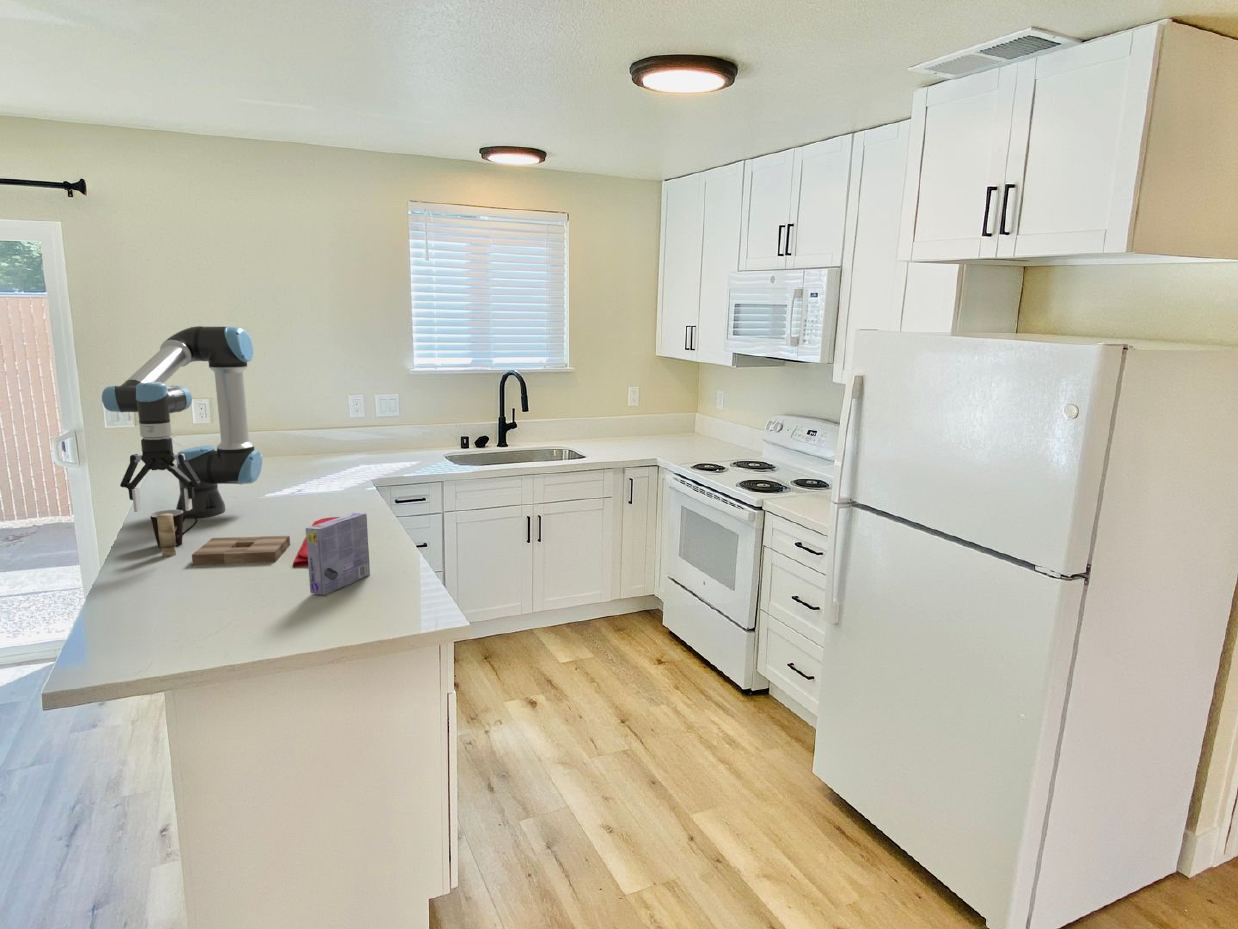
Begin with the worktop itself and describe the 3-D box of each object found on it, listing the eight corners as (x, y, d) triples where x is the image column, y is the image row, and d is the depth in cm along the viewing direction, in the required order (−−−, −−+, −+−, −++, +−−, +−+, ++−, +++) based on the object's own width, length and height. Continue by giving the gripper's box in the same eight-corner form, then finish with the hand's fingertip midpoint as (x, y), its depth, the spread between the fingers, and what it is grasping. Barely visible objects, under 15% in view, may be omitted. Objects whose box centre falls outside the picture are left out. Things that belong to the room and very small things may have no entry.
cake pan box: (359, 571, 208) (356, 509, 205) (374, 573, 206) (371, 511, 203) (308, 594, 191) (303, 527, 187) (323, 597, 189) (319, 530, 185)
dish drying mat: (291, 569, 210) (290, 556, 210) (312, 528, 249) (311, 517, 248) (350, 565, 214) (350, 553, 213) (362, 525, 253) (361, 515, 252)
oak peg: (164, 553, 220) (160, 513, 218) (179, 552, 221) (175, 513, 219) (158, 557, 216) (153, 517, 214) (173, 557, 217) (169, 517, 215)
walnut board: (213, 547, 226) (212, 538, 225) (290, 545, 230) (289, 535, 229) (192, 565, 211) (191, 554, 210) (275, 562, 214) (274, 552, 214)
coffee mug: (149, 550, 222) (145, 518, 220) (158, 541, 230) (155, 510, 228) (193, 547, 225) (189, 515, 223) (200, 539, 234) (197, 508, 232)
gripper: (101, 439, 206) (109, 514, 210) (198, 439, 210) (205, 512, 214) (114, 435, 213) (122, 508, 217) (208, 435, 217) (214, 506, 221)
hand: (163, 510), depth 216 cm, fingers open, 13 cm apart
